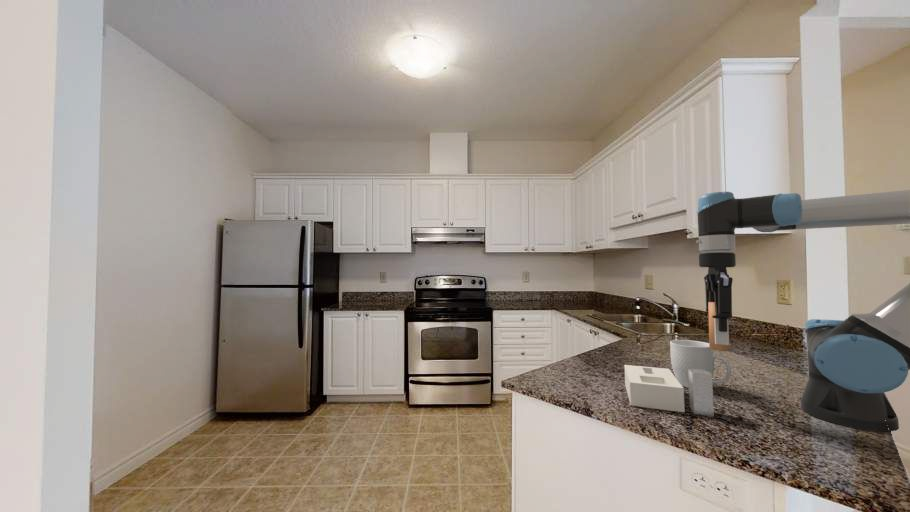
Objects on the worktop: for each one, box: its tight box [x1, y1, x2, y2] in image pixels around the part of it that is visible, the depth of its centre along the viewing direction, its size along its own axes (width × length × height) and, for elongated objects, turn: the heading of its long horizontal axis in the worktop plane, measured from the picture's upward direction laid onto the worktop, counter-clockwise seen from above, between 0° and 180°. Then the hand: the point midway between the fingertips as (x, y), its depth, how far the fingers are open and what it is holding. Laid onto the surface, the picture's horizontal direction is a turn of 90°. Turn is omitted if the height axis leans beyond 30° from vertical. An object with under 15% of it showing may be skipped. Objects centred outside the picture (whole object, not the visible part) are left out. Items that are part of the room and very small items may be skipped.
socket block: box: [624, 364, 685, 413], centre depth 94 cm, size 12×18×6 cm, turn 157°
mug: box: [669, 339, 732, 389], centre depth 101 cm, size 15×11×13 cm
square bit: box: [688, 369, 715, 417], centre depth 84 cm, size 4×4×10 cm
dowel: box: [707, 302, 730, 352], centre depth 86 cm, size 4×4×12 cm
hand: (719, 342), depth 86 cm, fingers closed on dowel, 4 cm apart
